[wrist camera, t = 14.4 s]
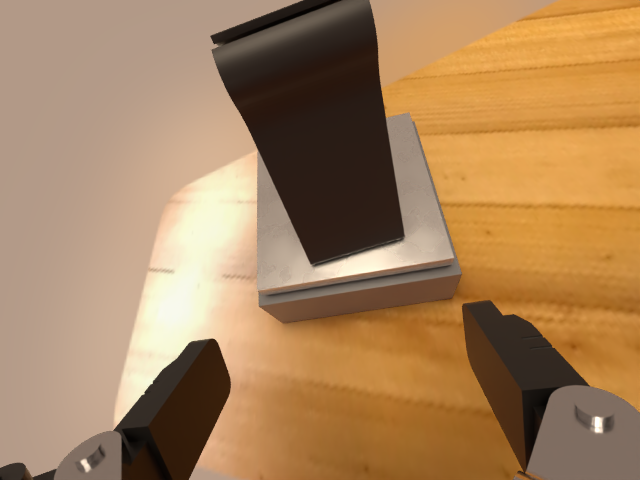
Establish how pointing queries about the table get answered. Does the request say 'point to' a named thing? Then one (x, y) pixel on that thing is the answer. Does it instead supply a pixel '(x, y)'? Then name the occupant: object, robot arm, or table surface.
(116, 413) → the table surface
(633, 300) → the table surface
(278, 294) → the base
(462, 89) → the table surface
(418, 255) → the pan
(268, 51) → the phone stand
